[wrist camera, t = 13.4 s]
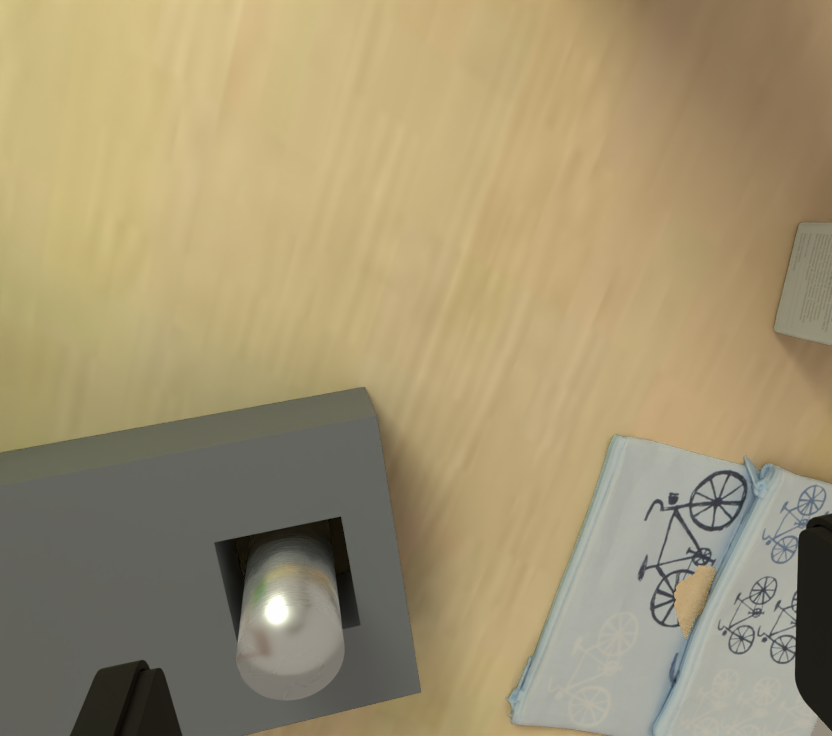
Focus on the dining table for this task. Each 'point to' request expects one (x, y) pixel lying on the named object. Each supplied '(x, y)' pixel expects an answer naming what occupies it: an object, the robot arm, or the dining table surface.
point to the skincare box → (808, 286)
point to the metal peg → (290, 613)
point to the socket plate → (192, 562)
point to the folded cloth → (654, 601)
